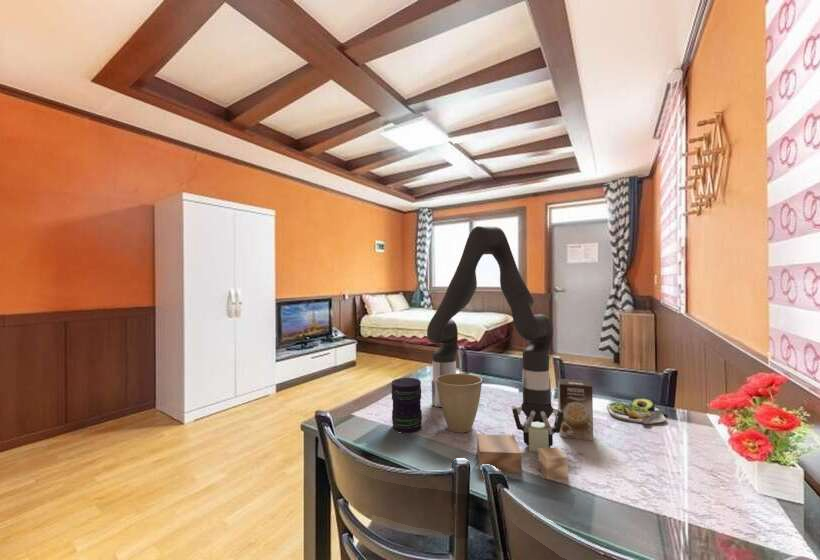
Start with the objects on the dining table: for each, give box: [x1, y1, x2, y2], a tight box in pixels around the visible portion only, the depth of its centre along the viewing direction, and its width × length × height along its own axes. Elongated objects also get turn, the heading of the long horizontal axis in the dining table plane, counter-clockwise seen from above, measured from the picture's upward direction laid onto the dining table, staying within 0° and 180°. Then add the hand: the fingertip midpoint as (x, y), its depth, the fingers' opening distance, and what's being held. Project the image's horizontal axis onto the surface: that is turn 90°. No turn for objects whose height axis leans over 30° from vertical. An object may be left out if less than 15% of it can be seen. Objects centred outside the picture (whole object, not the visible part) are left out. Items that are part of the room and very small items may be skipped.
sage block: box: [528, 422, 549, 453], centre depth 96 cm, size 5×5×6 cm
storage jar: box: [391, 377, 423, 434], centre depth 112 cm, size 10×10×15 cm
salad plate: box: [606, 398, 666, 425], centre depth 117 cm, size 19×18×5 cm
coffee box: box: [557, 378, 594, 442], centre depth 104 cm, size 9×6×16 cm
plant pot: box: [436, 373, 483, 434], centre depth 110 cm, size 15×15×16 cm
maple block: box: [538, 447, 569, 480], centre depth 83 cm, size 5×5×5 cm
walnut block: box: [476, 433, 522, 473], centre depth 89 cm, size 10×10×5 cm
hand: (538, 445), depth 96 cm, fingers closed on sage block, 5 cm apart
